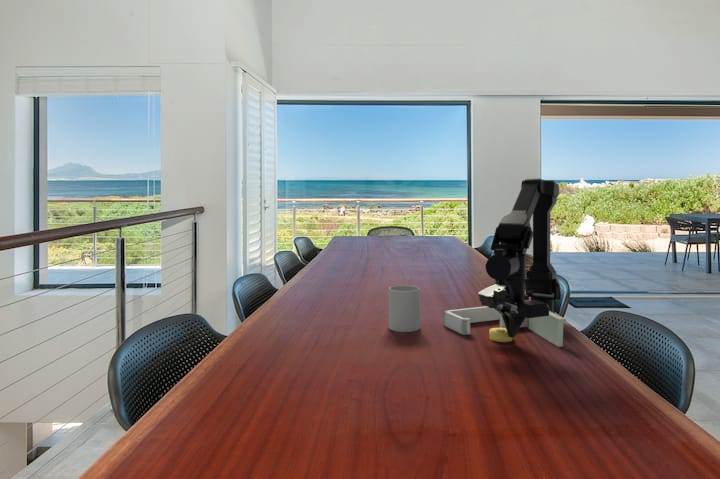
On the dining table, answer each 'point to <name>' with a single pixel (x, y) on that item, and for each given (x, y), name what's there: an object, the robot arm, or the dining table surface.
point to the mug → (404, 308)
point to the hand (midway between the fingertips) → (511, 337)
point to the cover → (549, 328)
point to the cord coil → (499, 335)
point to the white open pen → (472, 318)
